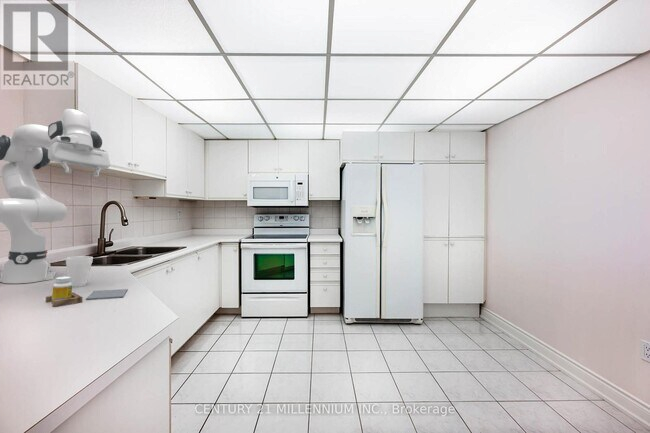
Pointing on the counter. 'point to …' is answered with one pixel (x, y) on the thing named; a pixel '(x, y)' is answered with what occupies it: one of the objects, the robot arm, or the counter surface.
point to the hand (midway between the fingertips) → (83, 174)
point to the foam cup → (78, 269)
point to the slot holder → (65, 300)
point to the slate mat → (107, 294)
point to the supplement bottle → (62, 289)
